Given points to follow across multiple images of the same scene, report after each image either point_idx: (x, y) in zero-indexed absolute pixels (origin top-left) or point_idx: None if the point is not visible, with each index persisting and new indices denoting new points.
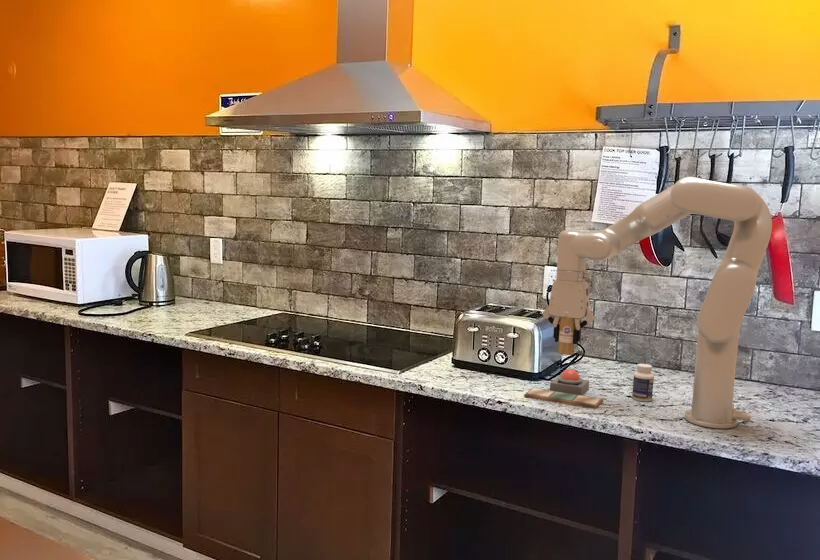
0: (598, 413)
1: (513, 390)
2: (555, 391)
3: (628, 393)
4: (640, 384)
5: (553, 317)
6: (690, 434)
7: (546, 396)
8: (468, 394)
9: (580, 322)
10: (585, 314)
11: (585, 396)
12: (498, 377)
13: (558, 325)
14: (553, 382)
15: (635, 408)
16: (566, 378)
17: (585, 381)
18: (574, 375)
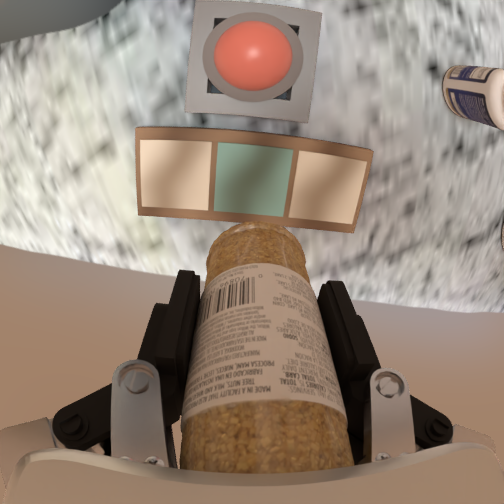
0: (354, 260)
1: (91, 159)
2: (214, 131)
3: (430, 39)
4: (486, 124)
5: (94, 446)
6: (478, 297)
7: (202, 209)
8: (39, 252)
9: (394, 429)
10: (482, 456)
11: (321, 156)
12: (23, 59)
13: (178, 416)
14: (194, 100)
15: (441, 183)
16: (243, 89)
17: (310, 31)
18: (276, 78)
